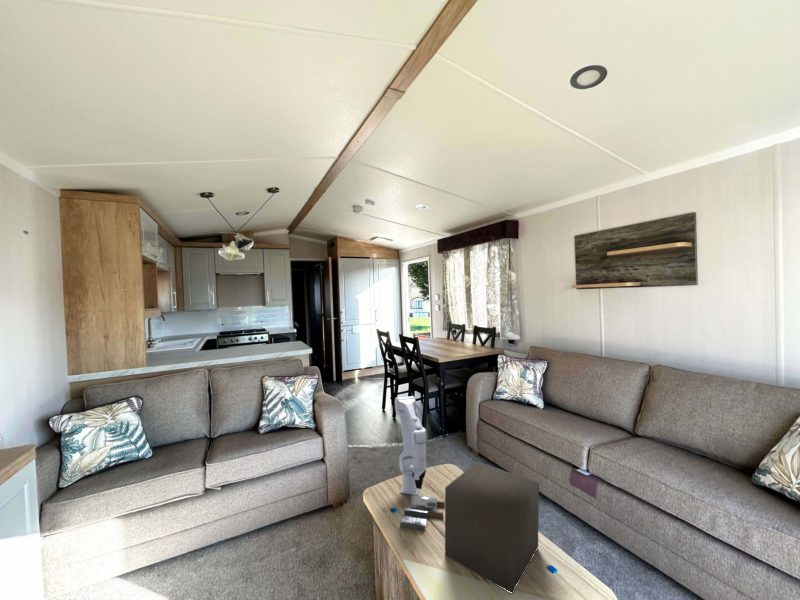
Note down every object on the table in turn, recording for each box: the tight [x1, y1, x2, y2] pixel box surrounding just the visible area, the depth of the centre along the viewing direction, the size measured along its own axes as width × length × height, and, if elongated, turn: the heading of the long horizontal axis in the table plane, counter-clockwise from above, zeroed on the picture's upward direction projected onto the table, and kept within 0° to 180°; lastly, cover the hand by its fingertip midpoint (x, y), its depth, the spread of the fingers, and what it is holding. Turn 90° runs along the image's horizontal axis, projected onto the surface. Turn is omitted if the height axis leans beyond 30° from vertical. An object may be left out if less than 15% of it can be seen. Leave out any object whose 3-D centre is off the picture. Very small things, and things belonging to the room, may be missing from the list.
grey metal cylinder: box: [410, 494, 438, 511], centre depth 150 cm, size 11×5×5 cm, turn 77°
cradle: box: [399, 507, 429, 532], centre depth 141 cm, size 9×10×2 cm
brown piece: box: [427, 500, 445, 519], centre depth 148 cm, size 8×7×2 cm
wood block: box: [444, 461, 540, 593], centre depth 125 cm, size 25×25×25 cm
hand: (419, 487), depth 150 cm, fingers closed
